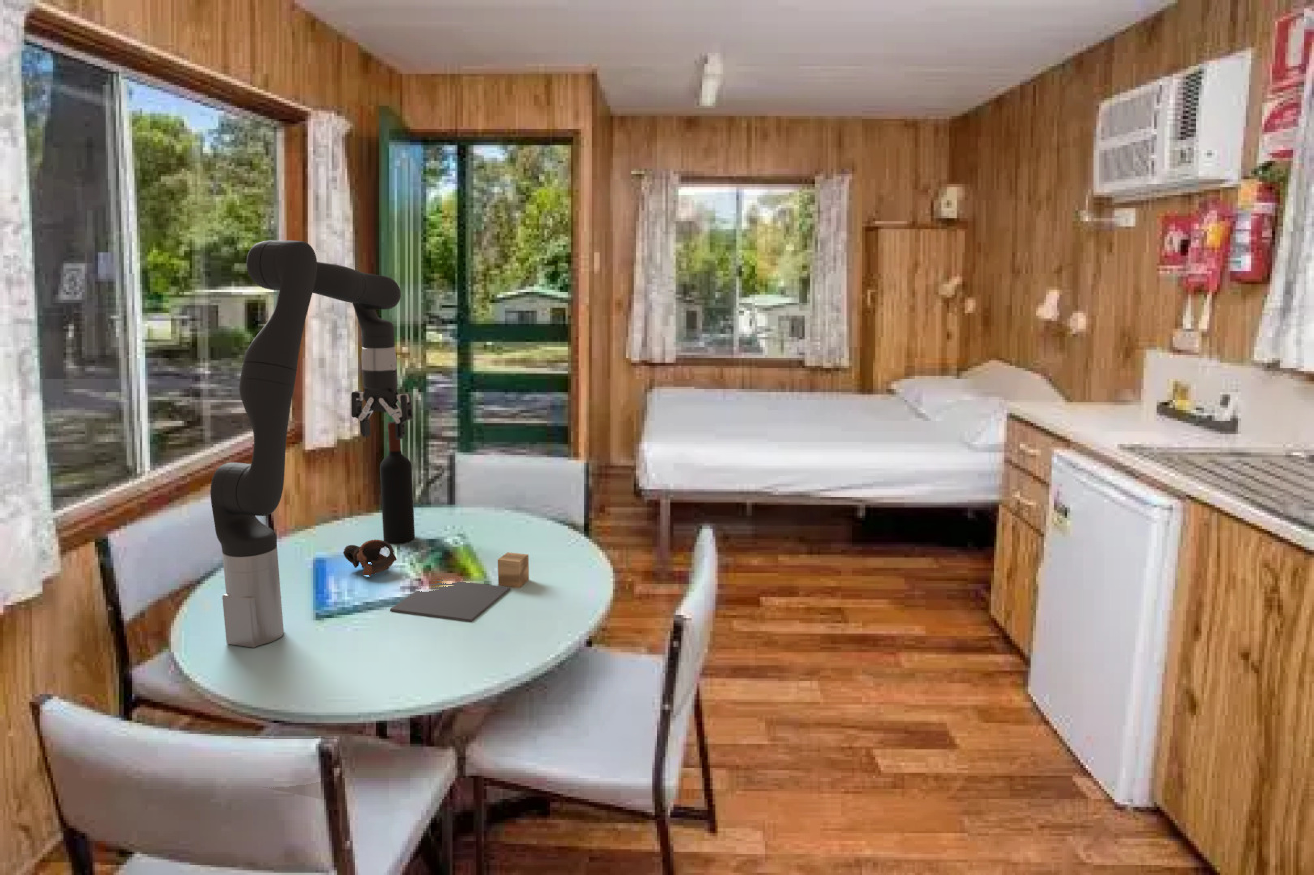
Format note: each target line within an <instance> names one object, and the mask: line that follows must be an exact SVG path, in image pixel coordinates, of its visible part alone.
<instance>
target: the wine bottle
mask: <svg viewBox="0 0 1314 875" xmlns="http://www.w3.org/2000/svg"><path fill="white" fill-rule="evenodd" d="M395 423H396V422H395V420H393V421H387V431H388V435H387V436H388V455H387V456H386V457H384V458H383V459H382V461H380V464H379V473H380V475H379V479H380V496H381V515H382V518H381V519H382V532H383V533H382V534H383V536H382V537H383V541H386V542H388V543H389V544H390V545H400V544H402V545H403V544H407V543H406V542H408V543H410V542H413V541H414V540H415V537H416V536H415V535H416V534H415V531H416V530H415V514H414V512H415V509H414V491H413V490H414V489H413V488H414V486H413V470H412V469H413V467H412V462H411V461H410V460H409V458H408V457H407V456H405V455H404V454H403V453H402V448H401V447H402V446H401V439H400V440H398V439H396V437H395Z"/></svg>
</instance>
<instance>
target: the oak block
mask: <svg viewBox="0 0 1314 875" xmlns="http://www.w3.org/2000/svg"><path fill="white" fill-rule="evenodd" d="M529 569H530V566H529V554H528V553H527V554H525V553H517V552H506V553H505V554H503V555H502V556H500V557H499V558H498V559H497V578H498V579H497V582H498V583H497V584H498V585H497V586H504V587H510V588H517V589H520V588H522V587H523V585H525V584H527V582H528V581H530V572H529V571H530V570H529Z"/></svg>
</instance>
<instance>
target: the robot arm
mask: <svg viewBox="0 0 1314 875" xmlns="http://www.w3.org/2000/svg"><path fill="white" fill-rule="evenodd" d="M317 260H318V259H317V255H316V252H315V250H314V249H313V246H312V245H311V244H309V243H308V242H306V241H302V240H301V241H300V240H275V239H272V240H263V241H260V242H257V243H255V244H254V245H252V247H251V248H250V250H249V251H248V253H247V256H246V269H247V272H248V276H249V277H250V280H252V281H253V282H254V283H255V284H256V285H257V286H259V287H260V288H262V289H266V290H270V291H278V295H277V301H276V304H275V307H274V310H273V312H272V314H271V316H270V317H269V319H268V320H267V321H266V323H265V325H264V326H262V328H261V329H260V330H259V332H258V333H257V335H256V336H255V337H254V338H253V340H252V341H251V343H250V344H249V346H248V348H246V351H245V353H244V355H243V356H244V357H243V360H242V366H241V372H240V378H239V385H238V386H239V388H238V389H239V395H240V396H239V397H240V400H241V402H242V406H243V408H244V411H245V413H246V415H247V417H248V420H249V423H250V425H251V429H252V433H253V451H252V457H251V459H252V460H251V463H245V462H244V463H243V462H226V463H223V464H222V465H220V466H218V468H217V469H216V470H215V471H214V474H213V476H212V478H211V482H210V489H209V490H210V492H209V493H210V494H209V495H210V503H211V512H212V516H213V522H214V523H213V524H214V530H215V535H216V538H217V540H218V542H219V543H220V546H221V552H222V562H223V563H222V564H223V574H224V583H225V584H224V585H225V593H224V594H223V595H222V596H221V600H222V608H223V618H224V621H223V622H224V629H225V631H224V632H225V641H226V644H227V645H234V646H241V647H246V648H254V649H255V648H257V647H258V646H262V645H266V644H269V643H272V642H274V641H276V640H278V639H279V638H281V637H282V636H283V635H284V633H285V629H284V616H283V606H282V605H283V604H282V592H281V581H280V580H281V578H280V568H279V566H280V565H279V555H278V554H279V552H278V542H277V540H278V538H277V535H276V532H275V531H274V529H272V528H271V527H270V526H267V525H266V524H264V523H262V522H261V521H260V519H258V517H266V516H269V515H271V514H272V513H273V512H275V511H276V509H277V508H278V506H279V504H280V502H281V500H282V495H283V491H284V490H283V489H284V483H285V469H286V468H285V466H286V465H285V464H286V452H287V451H286V448H287V437H288V429H289V420H290V413H291V407H292V406H291V405H292V400H293V394H294V391H295V390H294V389H295V384H296V378H297V372H298V363H299V356H300V350H301V344H302V338H303V334H304V327H305V324H306V323H305V322H306V318H307V315H308V310H309V307H310V303H311V299H312V297H313V294H316V295H319V296H324V297H327V298H331V299H335V300H338V301H342V302H346V303H349V304H352V307H353V308H354V311H355V314H356V315H355V316H356V318H357V322H358V325H359V327H360V335H361V355H360V356H361V359H360V360H361V374H362V387H363V389H364V391H362V390H361V389H360V390H355V391H352V392H351V395H350V398H351V400H350V401H351V404H350V405H351V408H350V410H351V411H350V413H351V417H352V418H353V419H354V418H356V419H357V420H359V427H360V428H359V429H360V430H359V431H360V434H361V435H362V437H363V438H367V437H370V436H371V421H370V417H371V415H372V414H373V413H377V412H381V413H388V415H389V416H390V417H392V419H393V421H395V422H396V423H395V437H396V439H398V440H400V441H401V439H402V440H403V439H404V437H405V435H406V424H405V423H406V422H408V421H410V420H413V416H414V415H413V407H412V406H413V405H412V396H411V394H410V393H409V392H408V393H404V394H402V393H401V394H399V393H398V386H399V384H398V367H397V366H398V363H397V353H396V346H395V328H394V324H393V322H391V321H390V320H386V319H382V318H381V317H379V315H378V312H377V311H376V310H391V309H393V308H395V307H396V306H397V305H398V304H399V302H400V300H401V297H402V296H401V295H402V293H401V288H400V286H399V284H398V283H397V282H396V281H395V280H394V279H393V278H391V277H388V276H386V275H385V276H384V275H379V274H374V273H366V272H363V271H359V270H356V269H353V268H350V267H349V266H348V267H347V266H344V265H341V264H340V265H339V264H335V263H328V262H321V261H320V262H319V261H317ZM363 400H364V401H365V405H364V406H363ZM398 403H400V406H399V404H398Z"/></svg>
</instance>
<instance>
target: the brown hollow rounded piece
mask: <svg viewBox="0 0 1314 875" xmlns="http://www.w3.org/2000/svg"><path fill="white" fill-rule="evenodd" d="M385 548H387V550H388V552H389V554H388V555H387V556H386V555H384V554H381V553H380V552H381V550H382V549H385ZM342 553H343V556H344V558H345V559H346V560H347V561H348V562H349V563H352V565H353V567H354V568H358V567H359V566H361V565H362V566H363V567H362V568H363V571H362V576H363V575H369V576H370V577H372V575H376V574H378V573H382V572H384V571H386V570H389V569H390V567H392V565H393V564H394V563H395V562H396V561H397V557H396V555H395V550H394V549H393V546H392V544H390V543H388V542H386V541H384V540H382V539H370V540H366V541H365V542H363V544H361V546H358V545H355V544H348V545H346V546H345V547H344V549H343V552H342ZM368 562H371V563H370V564H368Z"/></svg>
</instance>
